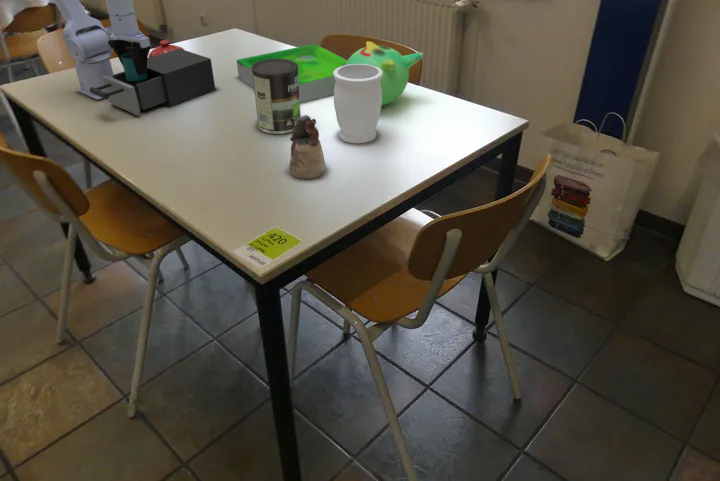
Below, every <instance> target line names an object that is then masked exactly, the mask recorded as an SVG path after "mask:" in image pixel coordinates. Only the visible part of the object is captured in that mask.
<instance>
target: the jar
mask: <svg viewBox="0 0 720 481" xmlns="http://www.w3.org/2000/svg"><path fill="white" fill-rule="evenodd" d="M333 76H334V78H335V80H336V82H335V87H334V94H333V105H334V106H333V107H334V111H335V118H336V121H337V125H338V127H339V129H340V130H339V132H338V137H339V138H340V139H341V140H342V141H344V142H346V143H350V144H366V143H369V142H371V141H373V140H374V139H376V137H377V132H376V127H377V125H378V123H379V119H380V114H381V110H382V106H383V105H382V88H381V82H380V80H381V78H382V76H383V74H382V70H381V69H379V68H378V67H375V66H372V65H366V64H350V65H344V66H341V67H338V68H336V69H335V70H334V72H333ZM381 105H382V106H381Z"/></svg>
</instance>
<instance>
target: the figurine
mask: <svg viewBox="0 0 720 481" xmlns="http://www.w3.org/2000/svg"><path fill="white" fill-rule="evenodd" d="M300 116H301V117H300V118H298V119H297V120H296V121H295V125H294V128H293V132H292V135H291V137H290V138H289V140H290V142H292V143H291V145H290V160H289V173H290V175H291V176H293V177H295V178H298V179H302V180H311V179H315V178H318V177H320V176H322V175H323V174H324V173H325V170H326V162H325V156H324V151H323V148H322V144H321V141H320V139H319V137H320V134H319V133H320V132H319V129H318V128H317V126H316V124H317V119H316V118H311V116H310V115H307V114H305V115H300Z"/></svg>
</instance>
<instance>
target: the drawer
mask: <svg viewBox="0 0 720 481" xmlns="http://www.w3.org/2000/svg"><path fill="white" fill-rule="evenodd" d="M147 75H148V77H147V78H146V79H145V80H141V81H128V80H127V79H126V76H125V72H124V71H121V72H117V73H114V75H112V76H113V78H112V77H109V76H107V75H105V76H102V79H103V83H104V85H103V86H100V87H97V88H94V87H91V88H90V92H91V93H93V94H95V95H98V96H100V97H102V99H104V100H107V101H108V103H109V104H111V105H113V106H116V107H118V108H120V109H122V110H125V111H127V112H129V113H131V114H134V115H135V116H137V115H139V114H141V110H142V111H145V110H148V109H150V108H152V107H155V106H158V105H161V104H163V103H164V102H167V101H168V99H167V94H166V89H165V84H164V79H163V76H161V75H158V74H156V73H153V72H150V71H148V70H147ZM102 89H105V90H106V92H103V91H101V90H102Z"/></svg>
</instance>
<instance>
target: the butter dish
mask: <svg viewBox="0 0 720 481" xmlns="http://www.w3.org/2000/svg"><path fill="white" fill-rule="evenodd" d="M179 48H180V49H183V50H185V48H183V47H181V46H178V45H175V44H170V41H169V40H168V39H163V40H160V41H159V45H158V46H157V47H155V48H153V49H152V50H151V51H149V54H148V58H150V57H153V56H156V55H160V54H163V53H166V52H169V51H173V50H176V49H179Z"/></svg>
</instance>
